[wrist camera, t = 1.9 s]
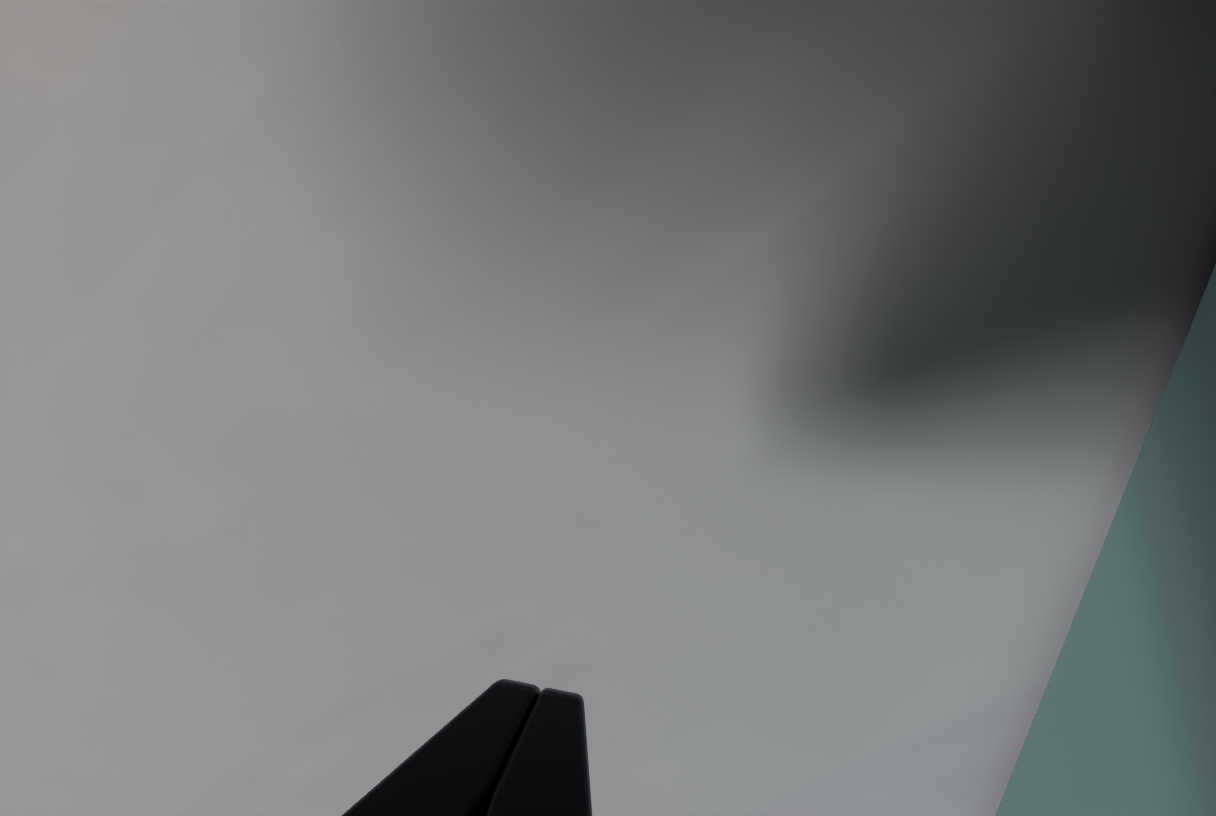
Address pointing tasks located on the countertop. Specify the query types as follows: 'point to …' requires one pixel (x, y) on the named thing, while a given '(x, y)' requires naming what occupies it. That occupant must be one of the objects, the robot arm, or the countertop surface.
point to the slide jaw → (1142, 631)
